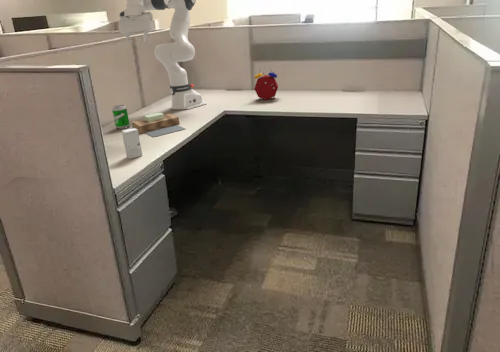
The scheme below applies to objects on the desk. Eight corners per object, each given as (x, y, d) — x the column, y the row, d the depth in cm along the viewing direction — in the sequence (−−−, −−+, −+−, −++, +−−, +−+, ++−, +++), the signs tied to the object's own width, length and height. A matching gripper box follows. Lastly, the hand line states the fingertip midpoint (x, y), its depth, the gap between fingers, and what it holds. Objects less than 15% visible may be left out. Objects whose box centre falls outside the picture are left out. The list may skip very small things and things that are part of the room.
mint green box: (160, 116, 231) (159, 112, 230) (164, 118, 226) (163, 114, 225) (144, 119, 226) (143, 115, 225) (148, 122, 222) (148, 117, 221)
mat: (176, 125, 226) (176, 124, 226) (185, 129, 218) (185, 128, 218) (145, 132, 217) (145, 132, 217) (153, 137, 209) (153, 136, 209)
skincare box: (129, 159, 181) (124, 132, 177) (126, 156, 185) (120, 130, 180) (143, 155, 184) (138, 129, 180) (139, 153, 188) (134, 127, 183)
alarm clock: (278, 97, 269) (277, 65, 261) (278, 100, 261) (276, 67, 253) (256, 98, 271) (253, 67, 263) (254, 101, 263) (252, 69, 255)
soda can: (121, 125, 236) (117, 104, 231) (132, 125, 233) (128, 104, 228) (113, 129, 229) (108, 107, 224) (124, 129, 226) (120, 108, 222)
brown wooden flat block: (170, 120, 237) (169, 113, 235) (179, 124, 228) (178, 117, 226) (133, 129, 226) (131, 121, 225) (141, 133, 217) (139, 126, 215)
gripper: (156, 12, 209) (157, 41, 211) (124, 16, 218) (126, 44, 220) (147, 9, 204) (148, 39, 206) (116, 14, 213) (117, 42, 215)
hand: (136, 41), depth 213 cm, fingers open, 8 cm apart
